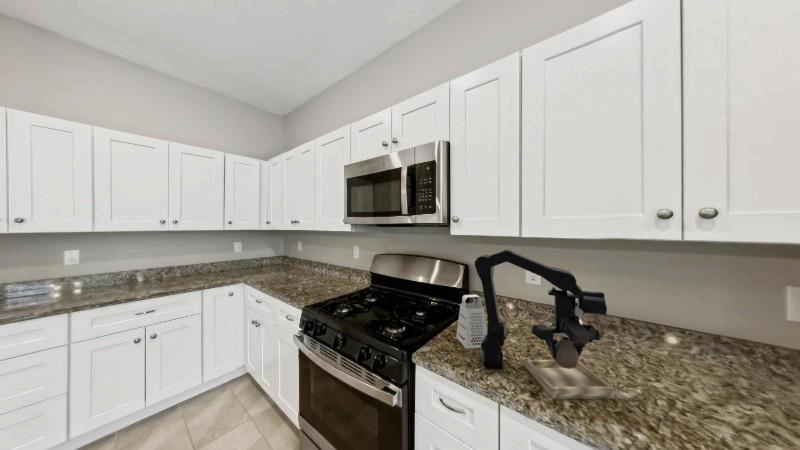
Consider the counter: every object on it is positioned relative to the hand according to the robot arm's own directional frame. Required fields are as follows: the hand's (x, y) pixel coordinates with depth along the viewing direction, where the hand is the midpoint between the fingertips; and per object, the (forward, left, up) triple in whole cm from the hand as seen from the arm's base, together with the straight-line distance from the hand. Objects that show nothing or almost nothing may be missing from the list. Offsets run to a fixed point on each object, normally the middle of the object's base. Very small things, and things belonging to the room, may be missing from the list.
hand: (565, 358), depth 82 cm
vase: (0, 0, -2) cm, 2 cm away
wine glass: (+24, +33, -8) cm, 42 cm away
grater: (-22, +29, -8) cm, 37 cm away
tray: (0, 0, -8) cm, 8 cm away
